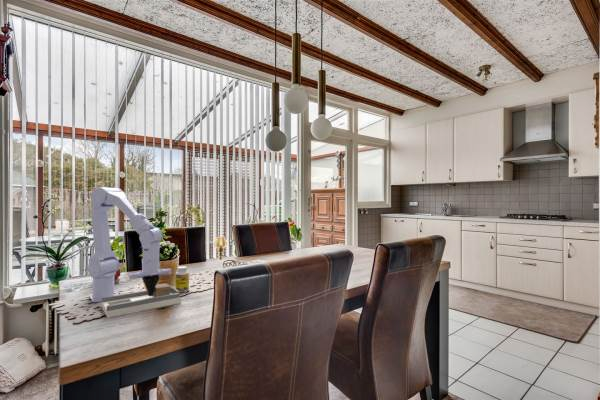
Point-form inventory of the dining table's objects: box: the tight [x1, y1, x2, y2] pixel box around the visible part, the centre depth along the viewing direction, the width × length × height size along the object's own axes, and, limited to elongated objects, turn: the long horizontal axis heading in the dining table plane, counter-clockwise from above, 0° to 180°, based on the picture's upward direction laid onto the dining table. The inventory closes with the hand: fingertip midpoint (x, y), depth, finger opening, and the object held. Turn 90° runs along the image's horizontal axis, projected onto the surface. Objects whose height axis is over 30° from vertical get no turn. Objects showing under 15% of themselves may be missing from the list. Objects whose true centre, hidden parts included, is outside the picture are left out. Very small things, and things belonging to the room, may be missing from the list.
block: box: [153, 282, 171, 297], centre depth 118 cm, size 5×5×4 cm
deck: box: [100, 285, 182, 319], centre depth 114 cm, size 14×24×4 cm, turn 130°
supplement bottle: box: [174, 265, 190, 293], centre depth 133 cm, size 6×6×10 cm
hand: (150, 295), depth 116 cm, fingers closed
